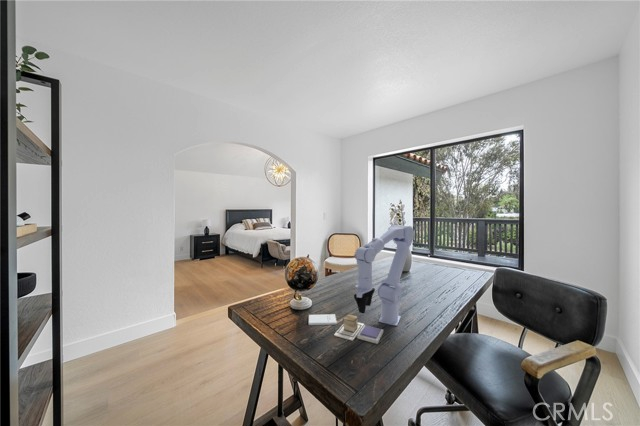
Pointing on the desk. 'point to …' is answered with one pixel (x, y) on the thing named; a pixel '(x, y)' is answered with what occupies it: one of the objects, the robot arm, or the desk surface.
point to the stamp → (350, 323)
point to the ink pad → (370, 334)
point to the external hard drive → (322, 319)
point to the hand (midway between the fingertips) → (364, 308)
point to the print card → (347, 334)
